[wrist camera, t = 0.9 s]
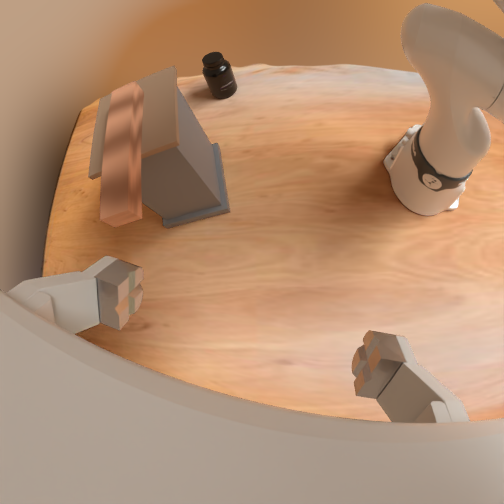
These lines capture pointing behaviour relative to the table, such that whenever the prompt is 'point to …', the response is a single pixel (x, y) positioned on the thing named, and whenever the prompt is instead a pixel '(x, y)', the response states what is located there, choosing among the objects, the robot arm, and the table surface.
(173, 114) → the stand
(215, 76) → the supplement bottle
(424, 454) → the robot arm
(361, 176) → the table surface
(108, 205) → the bar
